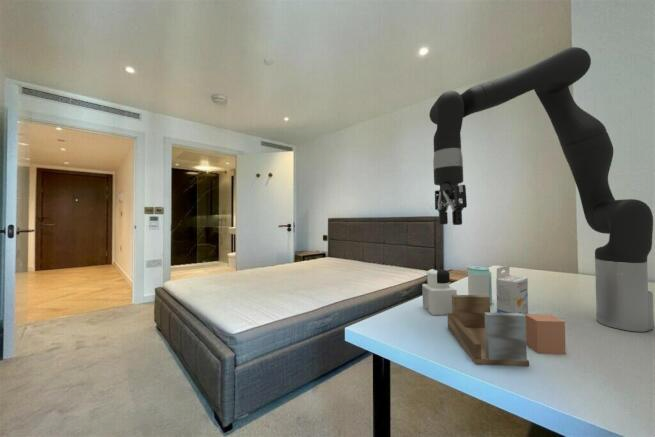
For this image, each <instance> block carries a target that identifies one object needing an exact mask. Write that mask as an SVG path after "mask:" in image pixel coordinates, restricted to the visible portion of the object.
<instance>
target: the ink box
mask: <svg viewBox="0 0 655 437" xmlns="http://www.w3.org/2000/svg"><path fill="white" fill-rule="evenodd" d="M510 267H511V266H510V264H508V265H503V266H500V267H497V268H496V281H495V282H496V313H522V314H524V315H525V314H529V299H528V298H529V296H528V294H529V293H528V292H529V291H528V288H529V287H528V286H529V284H528V283H529V282H528V277H524V276H517V275H512V274H511V275H510V269H511V268H510ZM502 271H504V272H502Z"/></svg>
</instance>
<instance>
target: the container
mask: <svg viewBox="0 0 655 437" xmlns="http://www.w3.org/2000/svg"><path fill="white" fill-rule="evenodd" d="M426 273H427V274H426V275H427V276H426V278H427V279H426V280H427V283H422V287H421V289H422V307H423V308H424V309H425V310H426V311H427V312H428V313H430V314H431V315H432V316H445V315H447V316H448V314H447V313H450V314H452V295H458V294H457V289H456V288H454V287H452V286H450V284H451V281H450V280H451V277H450V272H449V271H448V270H446V269H442V268H431V269H429V270H427V272H426Z"/></svg>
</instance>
